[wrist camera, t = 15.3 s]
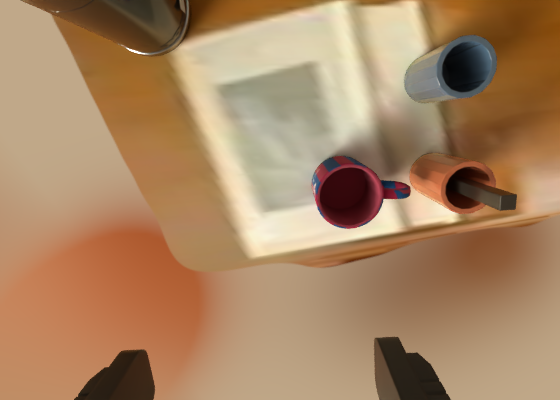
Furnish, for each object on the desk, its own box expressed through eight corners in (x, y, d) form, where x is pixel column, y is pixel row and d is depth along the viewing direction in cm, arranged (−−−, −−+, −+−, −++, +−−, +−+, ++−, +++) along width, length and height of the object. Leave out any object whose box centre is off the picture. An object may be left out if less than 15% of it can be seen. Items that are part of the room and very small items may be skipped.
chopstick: (428, 180, 36) (499, 210, 24) (428, 169, 36) (500, 195, 23) (438, 179, 36) (516, 209, 24) (438, 169, 36) (517, 194, 23)
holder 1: (394, 82, 34) (424, 71, 27) (428, 44, 33) (469, 21, 26) (426, 112, 35) (464, 110, 27) (460, 76, 34) (509, 63, 26)
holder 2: (400, 176, 37) (429, 190, 29) (431, 143, 36) (470, 149, 28) (430, 202, 38) (465, 224, 30) (461, 171, 36) (507, 185, 29)
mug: (314, 153, 37) (319, 160, 30) (399, 160, 36) (423, 168, 30) (309, 207, 38) (312, 225, 32) (390, 214, 38) (410, 234, 32)
